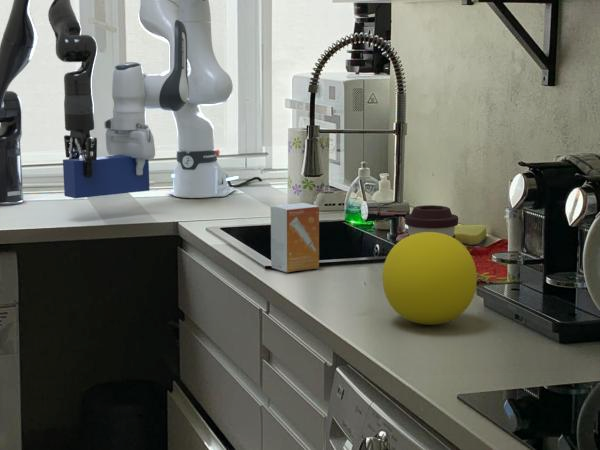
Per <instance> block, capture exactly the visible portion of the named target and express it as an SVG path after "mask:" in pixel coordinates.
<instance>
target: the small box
mask: <svg viewBox="0 0 600 450" xmlns="http://www.w3.org/2000/svg"><path fill="white" fill-rule="evenodd" d="M270 267H271V268H272V269H275V270H277V271H281V272H284V273H291V272H296V271H297V272H298V271H299V272H300V271H308V270H315V269H316V270H317V269H319V268H320V206H319V205H315V204H311V203H306V202H298V203H285V204H280V205H271V206H270Z"/></svg>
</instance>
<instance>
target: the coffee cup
mask: <svg viewBox="0 0 600 450" xmlns="http://www.w3.org/2000/svg"><path fill="white" fill-rule="evenodd" d="M404 225H406V226H407V227H408V228H407V230H408V233H407V236H406V237H408V236H410V235H413V234H417V233H422V232H437V233H442V234H445V235H448V236H451V237H453V238H455V239H456V235H455V229H456V228H455V227H456V226H458V225H459V216H458V215H456V214H453V213H452V211H451V208H450V207H448V206H444V205H437V204H436V205H434V204H433V205H431V204H429V205H426V204H425V205H418V206H414V207H413V208H412V210H411V213H408V214H406V215H405V216H404Z"/></svg>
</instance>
